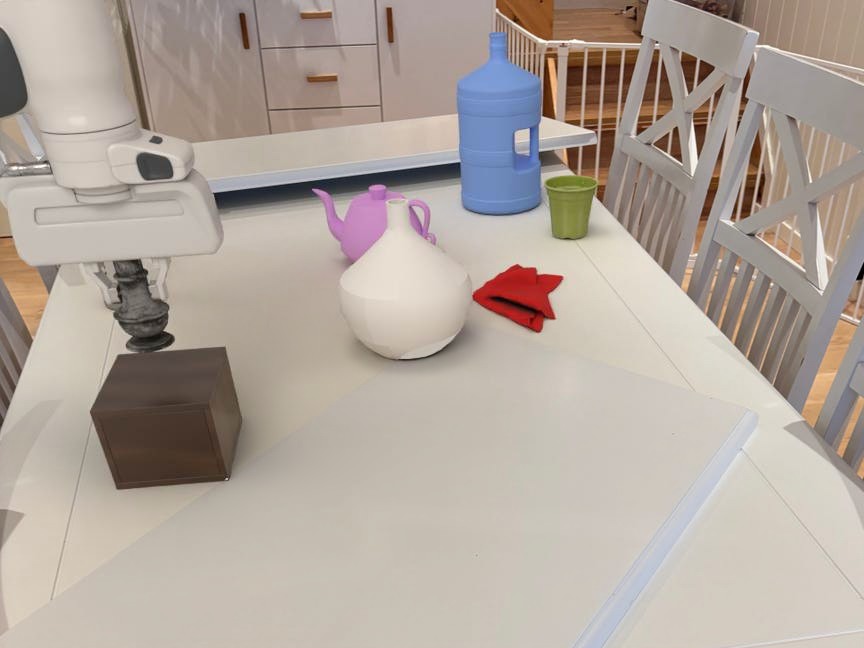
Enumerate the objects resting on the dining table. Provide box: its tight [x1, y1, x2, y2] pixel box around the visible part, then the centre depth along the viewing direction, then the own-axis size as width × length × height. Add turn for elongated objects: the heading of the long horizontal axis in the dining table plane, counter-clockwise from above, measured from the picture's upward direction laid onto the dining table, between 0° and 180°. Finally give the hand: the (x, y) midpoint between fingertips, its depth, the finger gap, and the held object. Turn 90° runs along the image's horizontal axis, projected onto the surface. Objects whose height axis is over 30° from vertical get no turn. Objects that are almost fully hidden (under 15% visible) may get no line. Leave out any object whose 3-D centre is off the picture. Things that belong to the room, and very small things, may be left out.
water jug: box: [455, 31, 543, 216], centre depth 169 cm, size 16×16×28 cm
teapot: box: [311, 184, 437, 264], centre depth 151 cm, size 20×14×12 cm
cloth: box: [472, 263, 564, 332], centre depth 140 cm, size 26×14×2 cm, turn 171°
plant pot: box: [543, 174, 600, 240], centre depth 160 cm, size 9×9×9 cm
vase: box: [337, 198, 473, 361], centre depth 123 cm, size 18×18×19 cm
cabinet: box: [89, 345, 243, 490], centre depth 105 cm, size 15×13×10 cm
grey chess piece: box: [112, 259, 176, 353], centre depth 96 cm, size 6×6×12 cm
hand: (138, 300), depth 97 cm, fingers closed on grey chess piece, 3 cm apart
